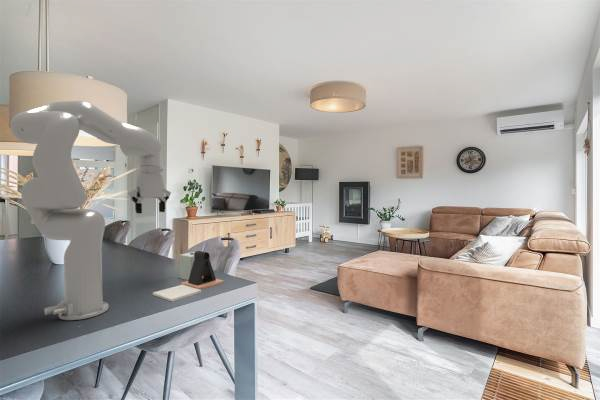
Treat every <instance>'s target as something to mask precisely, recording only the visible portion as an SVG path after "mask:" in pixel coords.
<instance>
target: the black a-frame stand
mask: <svg viewBox="0 0 600 400" xmlns="http://www.w3.org/2000/svg"><path fill="white" fill-rule="evenodd" d="M194 252H195V253H194V262H193V266H192V269H191V273H190V276H189V280H187V281H188V283H191V284H195V285H201V284H204V283H208V282H211V281H215V280H216V279H217V278H216V276H215V272H214V269H213V266H212V263H211V260H210V253H209V252H207V251H201V250H197V251H194ZM202 276H203V278H202Z"/></svg>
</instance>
